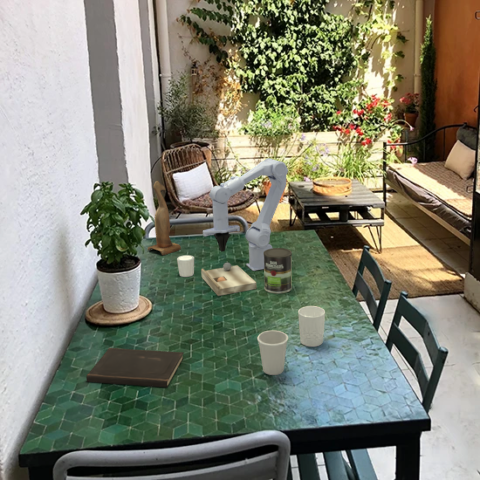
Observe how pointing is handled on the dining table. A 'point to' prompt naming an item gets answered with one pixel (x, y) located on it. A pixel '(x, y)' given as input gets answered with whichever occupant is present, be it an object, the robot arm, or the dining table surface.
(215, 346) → the dining table surface
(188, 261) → the white tapered cylinder
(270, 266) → the coffee can
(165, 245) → the bird sculpture
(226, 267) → the grey ball
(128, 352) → the hardcover book
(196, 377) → the dining table surface
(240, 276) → the light wood flat tray
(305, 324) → the white cup
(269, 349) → the dixie cup
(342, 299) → the dining table surface
